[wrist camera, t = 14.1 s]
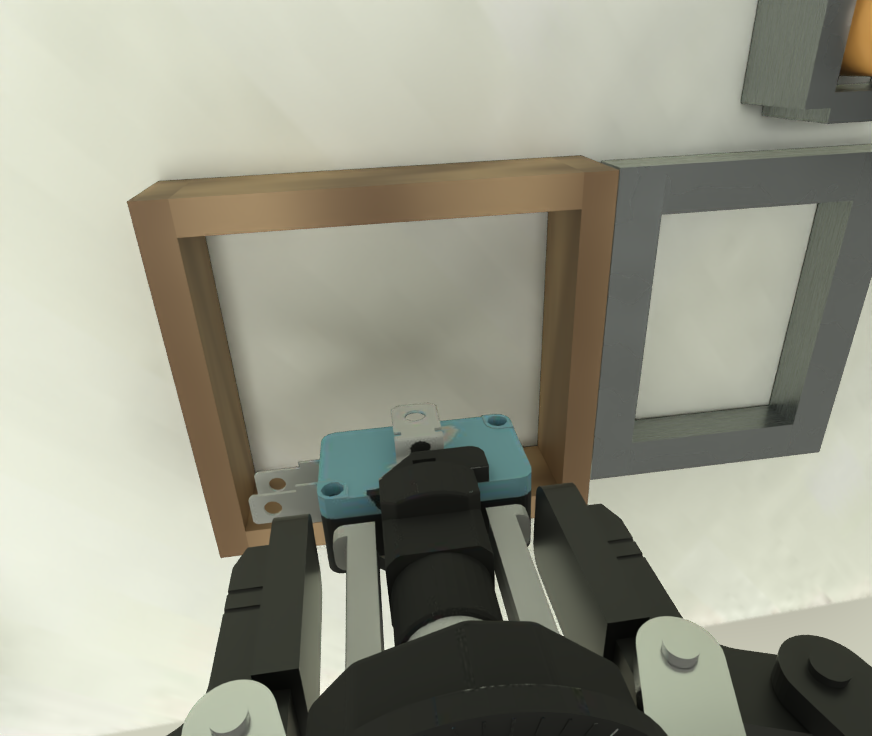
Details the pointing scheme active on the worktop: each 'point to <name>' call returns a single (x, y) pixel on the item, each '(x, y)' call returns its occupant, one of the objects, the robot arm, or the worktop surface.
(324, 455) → the push button
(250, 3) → the worktop surface
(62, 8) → the worktop surface
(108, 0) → the worktop surface
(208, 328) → the wooden square frame
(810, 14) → the plunger collar
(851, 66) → the plunger
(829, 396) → the socket block
